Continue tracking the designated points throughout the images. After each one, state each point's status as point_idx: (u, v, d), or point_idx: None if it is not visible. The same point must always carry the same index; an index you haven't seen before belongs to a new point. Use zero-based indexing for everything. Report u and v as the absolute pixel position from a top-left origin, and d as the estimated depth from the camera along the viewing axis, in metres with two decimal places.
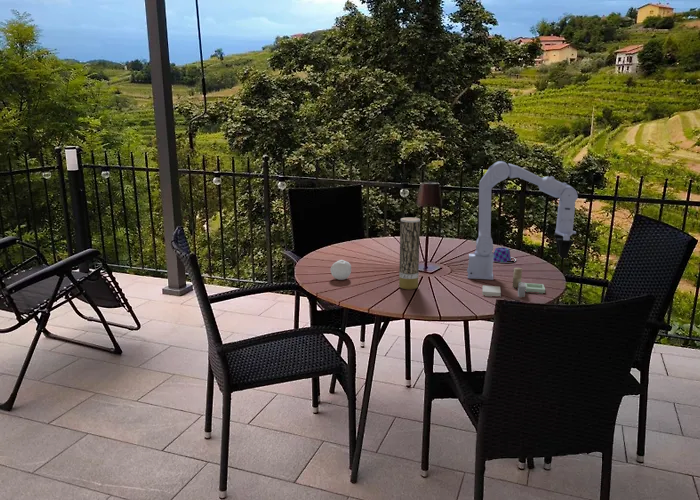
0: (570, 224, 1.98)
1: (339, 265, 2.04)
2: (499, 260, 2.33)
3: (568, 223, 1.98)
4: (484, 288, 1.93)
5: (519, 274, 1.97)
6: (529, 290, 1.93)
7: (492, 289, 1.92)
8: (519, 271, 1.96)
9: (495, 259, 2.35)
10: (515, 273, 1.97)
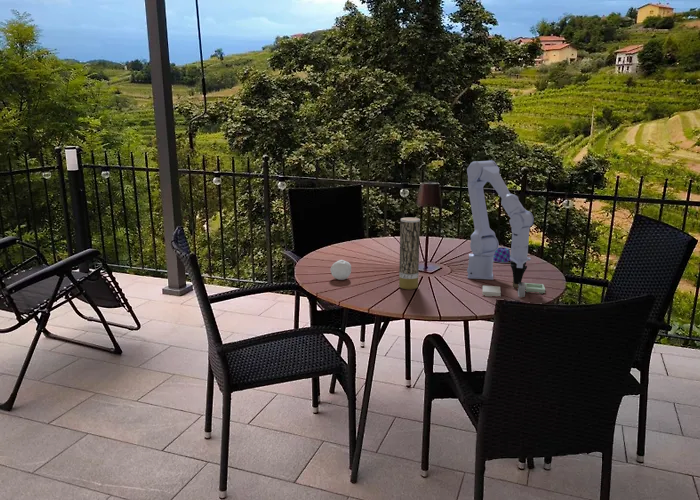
0: (524, 251, 1.93)
1: (339, 265, 2.04)
2: (500, 260, 2.33)
3: (522, 250, 1.93)
4: (484, 288, 1.93)
5: None
6: (529, 290, 1.93)
7: (492, 289, 1.92)
8: None
9: (496, 259, 2.35)
10: None
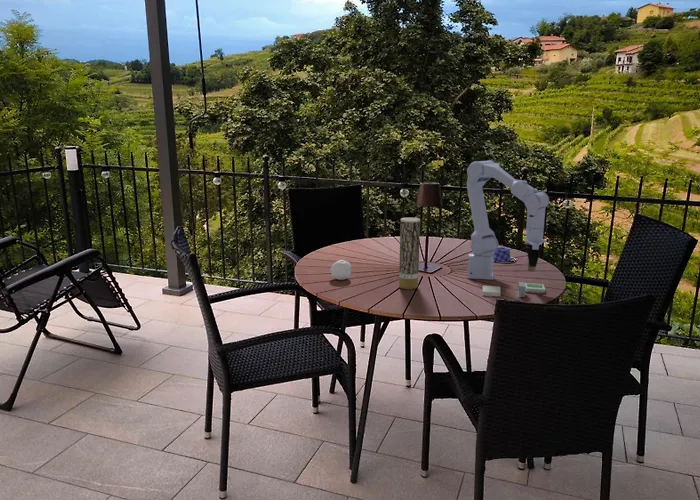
0: (540, 232, 1.89)
1: (339, 265, 2.04)
2: (500, 260, 2.33)
3: (537, 231, 1.89)
4: (484, 288, 1.93)
5: None
6: (529, 290, 1.93)
7: (492, 289, 1.92)
8: None
9: (496, 259, 2.34)
10: None
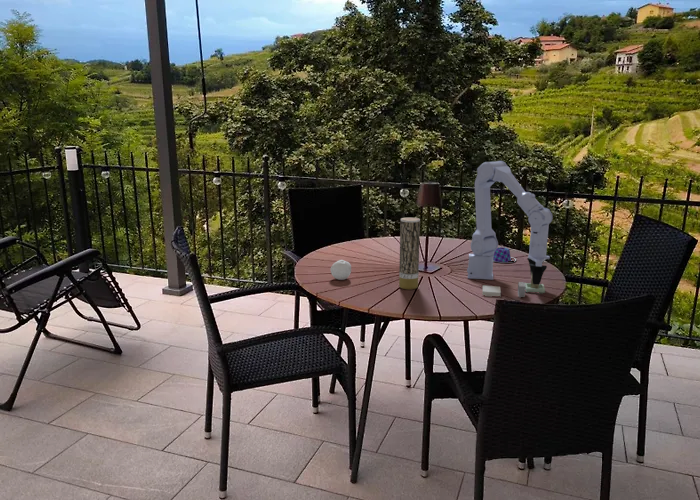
0: (543, 249, 1.90)
1: (339, 265, 2.04)
2: (501, 260, 2.33)
3: (541, 248, 1.89)
4: (484, 288, 1.93)
5: None
6: (529, 290, 1.93)
7: (492, 289, 1.92)
8: None
9: (496, 259, 2.34)
10: None
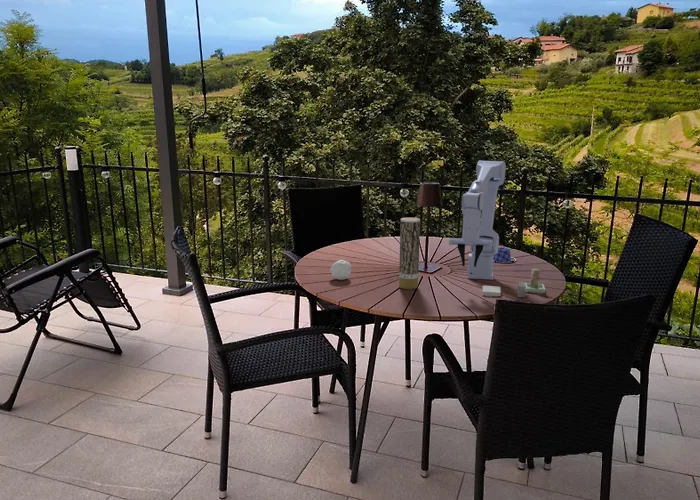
0: (463, 232, 1.88)
1: (339, 265, 2.04)
2: (502, 260, 2.33)
3: (463, 230, 1.89)
4: (484, 288, 1.93)
5: (537, 275, 1.93)
6: (529, 290, 1.93)
7: (492, 289, 1.92)
8: (538, 272, 1.93)
9: (497, 259, 2.34)
10: (533, 274, 1.94)
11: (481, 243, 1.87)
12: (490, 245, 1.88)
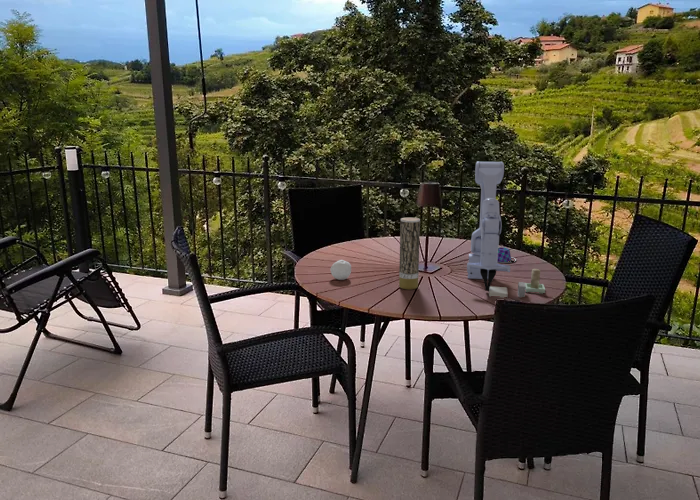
0: (482, 257, 1.89)
1: (339, 265, 2.04)
2: (503, 260, 2.33)
3: (481, 255, 1.90)
4: (491, 289, 1.92)
5: (537, 275, 1.93)
6: (529, 290, 1.93)
7: (499, 290, 1.91)
8: (538, 272, 1.93)
9: (498, 260, 2.34)
10: (533, 274, 1.94)
11: (499, 268, 1.88)
12: (508, 270, 1.88)
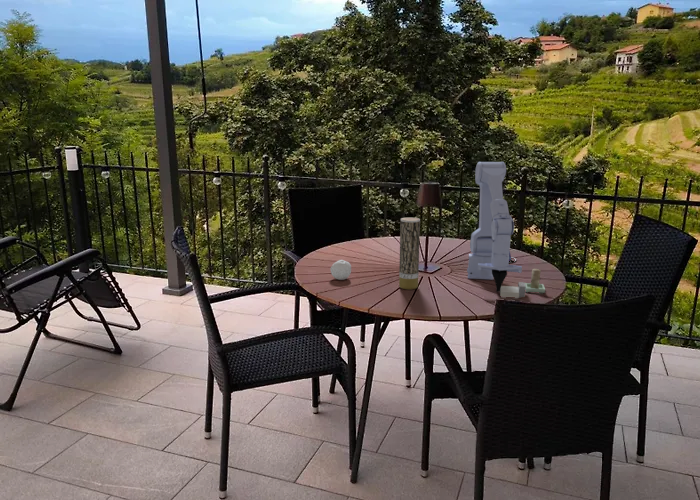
0: (493, 257, 1.88)
1: (339, 265, 2.04)
2: None
3: (492, 256, 1.89)
4: (502, 288, 1.91)
5: (537, 275, 1.93)
6: (529, 290, 1.93)
7: (510, 289, 1.90)
8: (538, 272, 1.93)
9: None
10: (533, 274, 1.94)
11: (511, 269, 1.87)
12: (520, 271, 1.88)
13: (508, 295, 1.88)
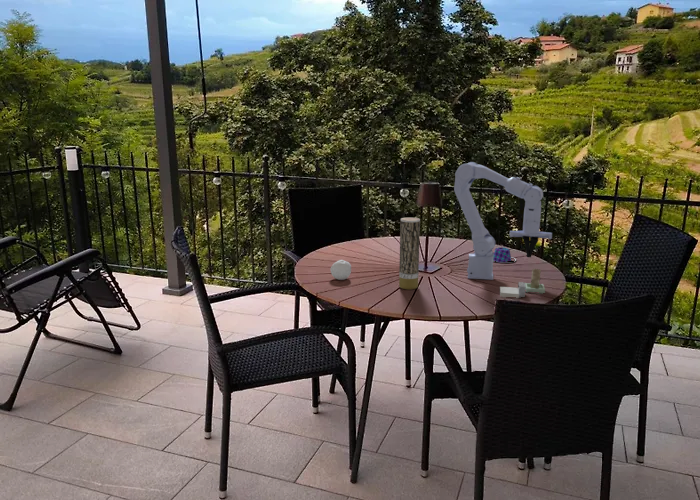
0: (524, 224, 1.99)
1: (339, 265, 2.04)
2: (504, 260, 2.33)
3: (523, 223, 1.99)
4: (502, 289, 1.91)
5: (537, 275, 1.93)
6: (529, 290, 1.93)
7: (510, 290, 1.90)
8: (538, 272, 1.93)
9: (499, 260, 2.33)
10: (533, 274, 1.94)
11: (541, 235, 1.98)
12: (550, 237, 1.98)
13: (508, 296, 1.88)
